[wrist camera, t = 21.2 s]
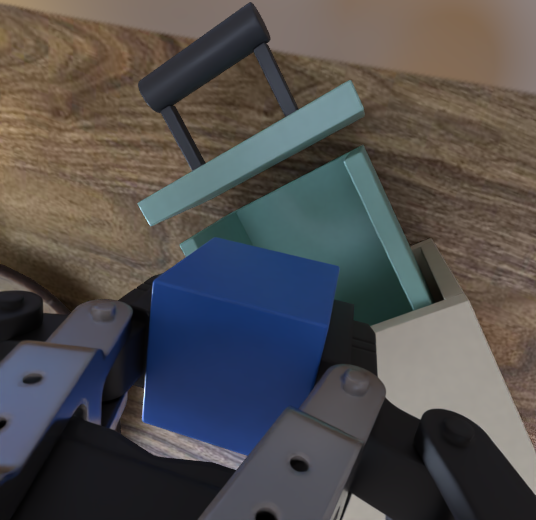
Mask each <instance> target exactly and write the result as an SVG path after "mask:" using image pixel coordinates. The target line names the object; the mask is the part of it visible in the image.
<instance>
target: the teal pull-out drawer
mask: <svg viewBox="0 0 536 520" xmlns="http://www.w3.org/2000/svg"><path fill="white" fill-rule="evenodd" d="M269 41H270V35H269V32H268V30H267V28H266V26H265V23H264V22H263V19H262V18H261V16H260V14H259V12H258V10H257V9H256V7H255V6H254V4H252V3H251V2H250V3H248V4H246V5H245V6H244V7H242V8H241V9H240V10H238V11H237V12H235V13H234V14H232V15H231V16H230V17H228V18H227V19H225V20H224V21H223V22H221V23H220V24H219V25H217V26H216V27H214V28H213V29H211V30H210V31H209V32H207V33H206V34H204V35H203V36H202V37H200V38H199V39H197V40H196V41H195V42H193V43H192V44H190V45H189V46H188V47H186V48H185V49H183V50H182V51H181V52H179V53H178V54H176V55H175V56H174V57H172V58H171V59H169V60H168V61H167V62H165V63H164V64H162V65H161V66H160V67H158V68H157V69H155V70H154V71H153V72H151V73H150V74H148V75H147V76H146V77H144V78H143V79H141V80H140V81H139V83H138V87H139V91H140V93H141V95H142V97H143V99H144V100H145V102H146V103H147V104H148V105H149V106H150V107H151V108H152V109H153V110H154V111H155V112H158V113H161V114H162V116H163V118H164V120H165V122H166V123H167V125H168V127H169V129H170V131H171V133H172V134H173V136H174V138H175V140H176V142H177V144H178V146H179V147H180V149H181V151H182V153H183V155H184V157H185V158H186V160H187V162H188V164H189V166H190V168H191V170H192V172H190V173H188V174H187V175H185V176H183V177H181V178H180V179H178V180H176V181H174V182H173V183H171V184H169V185H168V186H166V187H164V188H162V189H161V190H159V191H157V192H156V193H154V194H152V195H150V196H149V197H147V198H145V199H143V200H142V201H140V202H138V206H139V207H140V209H141V211H142V213H143V214H144V216H145V218H146V220H147V221H148V223H149V225H150V226H153V225H155V224H158V223H160V222H162V221H164V220H166V219H169V218H171V217H173V216H175V215H178V214H180V213H182V212H184V211H186V210H189V209H191V208H193V207H195V206H198V205H200V204H202V203H204V202H207V201H209V200H211V199H213V198H215V197H217V196H218V195H220V194H222V193H224V192H226V191H228V190H230V189H231V188H233V187H235V186H237V185H239V184H241V183H243V182H244V181H246V180H248V179H250V178H252V177H254V176H256V175H257V174H259V173H261V172H263V171H265V170H267V169H268V168H270V167H272V166H274V165H276V164H278V163H280V162H281V161H283V160H285V159H287V158H289V157H291V156H293V155H294V154H296V153H298V152H300V151H302V150H304V149H305V148H307V147H309V146H311V145H313V144H315V143H317V142H318V141H320V140H322V139H324V138H326V137H328V136H330V135H331V134H333V133H335V132H337V131H339V130H341V129H342V128H344V127H346V126H348V125H350V124H352V123H354V122H355V121H357V120H359V119H361V118H363V117H364V116H365V113H364V107H363V105H362V103H361V101H360V99H359V96H358V94H357V92H356V90H355V87H354V85H353V83H352V81H351V80H348V81H347V82H345V83H343V84H342V85H340V86H338V87H336V88H335V89H333V90H331V91H330V92H328V93H326V94H324V95H323V96H321V97H319V98H317V99H316V100H314V101H312V102H311V103H309V104H307V105H305V106H304V107H302V108H300V109H298V107H297V104H296V102H295V100H294V98H293V96H292V94H291V92H290V90H289V88H288V86H287V84H286V81H285V79H284V77H283V75H282V73H281V71H280V69H279V67H278V65H277V63H276V61H275V59H274V56H273V54H272V52H271V50H270V48H269V46H268V45H267V44H266V43H268V42H269ZM253 52H254V54H255V56H256V58H257V60H258V62H259V64H260V66H261V68H262V70H263V72H264V74H265V76H266V78H267V80H268V83H269V85H270V87H271V89H272V91H273V93H274V95H275V97H276V99H277V101H278V103H279V105H280V107H281V109H282V111H283V113H284V115H285V118H283V119H281V120H280V121H278V122H276V123H274V124H273V125H271V126H269V127H268V128H266V129H264V130H262V131H261V132H259V133H257V134H255V135H254V136H252V137H250V138H249V139H247V140H245V141H243V142H242V143H240V144H238V145H237V146H235V147H233V148H231V149H230V150H228V151H226V152H224V153H223V154H221V155H219V156H218V157H216V158H214V159H212V160H211V161H209V162H207V163H205V161H204V159H203V157H202V156H201V154H200V152H199V150H198V148H197V146H196V144H195V142H194V141H193V139H192V137H191V135H190V133H189V131H188V129H187V127H186V126H185V124H184V122H183V120H182V118H181V116H180V114H179V112H178V111H177V109H176V107H175V106H173V105H174V104H176V103H177V102H179V101H180V100H182V99H183V98H185V97H186V96H188V95H189V94H191V93H192V92H194V91H195V90H197V89H198V88H200V87H201V86H203V85H204V84H206V83H207V82H209V81H210V80H212V79H213V78H215V77H216V76H218V75H219V74H221V73H222V72H224V71H225V70H227V69H228V68H230V67H231V66H233V65H235V64H236V63H238V62H239V61H241V60H242V59H244V58H245V57H247V56H248V55H250V54H251V53H253ZM214 237H217V238H221V239H226V240H230V241H234V242H238V243H243V244H247V245H251V246H255V247H260V248H264V249H268V250H272V251H277V252H281V253H285V254H289V255H294V256H298V257H302V258H306V259H311V260H315V261H319V262H323V263H328V264H332V265H336V266H339V268H340V270H339V276H338V281H337V286H336V292H335V297H334V299H335V300H339V301H343V302H347V303H351V304H354V319H353V320H355V321H359V322H363V323H367V324H369V326H372V325H375V324H378V323H381V322H383V321H386V320H389V319H392V318H395V317H397V316H400V315H403V314H406V313H409V312H412V311H414V310H417V309H420V308H423V307H426V306H429V305H431V304H434V303H435V300H434V298H433V296H432V294H431V292H430V289H429V287H428V285H427V283H426V281H425V279H424V276H423V274H422V272H421V270H420V268H419V265H418V263H417V261H416V259H415V257H414V254H413V252H412V250H411V248H410V246H409V244H408V241H407V239H406V237H405V235H404V233H403V230H402V228H401V226H400V224H399V222H398V219H397V217H396V215H395V213H394V211H393V209H392V206H391V204H390V202H389V200H388V198H387V195H386V193H385V191H384V189H383V187H382V184H381V182H380V180H379V178H378V176H377V174H376V171H375V169H374V167H373V165H372V163H371V160H370V158H369V156H368V154H367V152H366V149H365V147H364V145H361V146H359V147H357V148H355V149H353V150H352V151H350V152H348V153H346V154H344V155H342V156H340V157H338V158H336V159H334V160H332V161H330V162H328V163H326V164H324V165H322V166H321V167H319V168H317V169H315V170H313V171H311V172H309V173H307V174H305V175H303V176H301V177H299V178H297V179H295V180H293V181H292V182H290V183H288V184H286V185H284V186H282V187H280V188H278V189H276V190H274V191H272V192H270V193H268V194H266V195H264V196H262V197H261V198H259V199H257V200H255V201H253V202H251V203H249V204H247V205H245V206H243V207H241V208H239V209H237V210H235V211H233V212H231V213H230V214H228V215H226V216H225V217H223V218H221V219H220V220H218V221H216V222H215V223H213V224H212V225H210V226H208V227H207V228H205V229H203V230H202V231H200V232H198V233H197V234H195V235H194V236H192V237H190V238H189V239H187V240H185V241H184V242H182V243H181V244H180V247H181V249H182V251H183V253H184V254H185V256H186V257H187V256H188V255H190V254H191V253H193V252H194V251H195V250H197V249H198V248H200V247H201V246H203V245H204V244H205V243H207V242H208V241H210V240H211V239H212V238H214Z"/></svg>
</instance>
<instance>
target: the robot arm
mask: <svg viewBox="0 0 536 520" xmlns="http://www.w3.org/2000/svg"><path fill="white" fill-rule="evenodd" d="M162 274H163V273H162ZM160 275H161V274H159V275H155V276H153V277H151V278H150V279H148V280H147V281H145V282H144V284H143V283H142V284H141V285H139V286H138V287H137V289H134V290H132V291H131V292H129V293H128V294H126V295H125V296H123V297H122V298H121V299H119V300H118V301H117V300H111V299H98V300H91V301H87V302H84V303H82V304H80V305H78V306H77V307H76V308H75V309H74V310H73V311H72V312H71V313H70V315H63V314H52V313H43V299H42V297H41V296H39V295H38V294H36V293H33V292H29V291H22V290H10V291H1V292H0V520H343V518H344V516H345V513H346V510H347V508H348V505H349V503H350V500H351V498H352V495H355V496H357V497H358V498H360V499H361V500H363V501H364V502H366V503H368V504H369V505H371V506H372V507H374V508H375V509H377V510H379V511H380V512H382V513H383V514H385V515H386V516H385V520H536V495H535V494H534V492H533V491H532V490H531V489H530V487H529V486H528V485H527V484H526V482H525V481H524V480H523V479H522V477H521V476H520V475H519V474H518V472H517V471H516V470H515V469H514V467H513V466H512V465H511V464H510V462H509V461H508V460H507V458H506V457H505V456H504V455H503V453H502V452H501V451H500V450H499V448H498V447H497V446H496V445H495V443H494V442H493V441H492V440H491V438H490V437H489V436H488V435H487V433H486V432H485V431H484V430H483V429H482V428H481V427H480V426H478V425H477V424H476V423H474V422H473V421H471V420H470V419H468V418H467V417H465V416H463V415H461V414H458V413H456V412H453V411H450V410H446V409H430V410H427V411H426V412H424V413H423V415H422V417H421V420H420V419H418V418H416V417H414V416H412V415H410V414H408V413H406V412H405V411H403V410H401V409H399V408H398V407H396V406H395V405H393V404H392V403H391V402H390V401H389V400H388V399H387V398H386V397H385V396H386V388H385V386H384V384H383V382H382V381H381V380H380V379H379V378H378V371H377V353H376V351H377V350H376V334H375V332H374V331H373V330H372V328H371V327H370V326H369V324H367V323H363V322H359V321H355V320H353V319H354V304H351V303H347V302H343V301H339V300H335V299H334V302H333V308H332V313H331V318H330V324H329V329H328V333H327V337H326V341H325V345H324V349H323V353H322V357H321V361H320V365H319V369H318V373H317V377H316V381H315V385H314V388H313V390H312V391H311V392H310V394H309V395H308V396H307V398H306V399H305V400H304V402H303V403H302V405H301V406H300V407H299V409H298V408H296V407H294V406H292V405H289V406H288V407H286V409H285V410H284V411H283V412H282V413H281V415H280V416H279V417H278V418H277V420H276V421H275V422H274V423H273V425H272V426H271V427H270V429H269V430H268V431H267V432H266V434H265V435H264V436H263V437H262V439H261V440H260V441H259V442H258V444H257V445H256V446H255V447H254V449H253V450H252V451H251V453H250V454H249V455H248V456H247V458H246V459H245V460H244V461H243V463H242V464H241V465H240V466H239V468H238V469H237V470H234V469H231V468H228V467H225V466H222V465H219V464H216V463H213V462H203V461H193V460H183V459H174V458H164V457H157V456H154V455H152V454H151V453H149V452H147V451H146V450H144V449H143V448H141V447H140V446H138V445H137V444H135V443H133V442H132V441H130V440H129V439H127V438H126V437H124V436H123V435H121V434H120V433H118V432H116V431H115V429H116V426H117V424H118V422H119V420H120V417H121V415H122V413H123V410H124V408H125V406H126V403H127V396H128V390H129V389H130V388H131V386H132V385H135V386H138V387H141V388H144V387H145V374H146V361H147V348H148V335H149V322H150V309H151V296H152V283H153V281H154V279H156V278H157V277H159V276H160Z"/></svg>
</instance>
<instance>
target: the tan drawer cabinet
mask: <svg viewBox="0 0 536 520" xmlns="http://www.w3.org/2000/svg"><path fill="white" fill-rule="evenodd" d="M410 248H411V250H412V252H413V254H414V257H415V259H416V261H417V263H418V265H419V268H420V270H421V272H422V274H423V276H424V279H425V281H426V283H427V285H428V287H429V289H430V292H431V294H432V296H433V298H434V300H435V303H434V304H431V305H429V306H426V307H423V308H420V309H417V310H414V311H412V312H409V313H406V314H403V315H400V316H397V317H395V318H392V319H389V320H386V321H383V322H381V323H378V324H375V325H372V326H370V327H371V328H372V330H373V331H374V332H375V334H376V350H377V351H376V353H377V371H378V378H379V379H380V380H381V381H382V382H383V384H384V386H385V388H386V396H385V397H386V398H387V399H388V400H389V401H390V402H391V403H392V404H393V405H395V406H396V407H398V408H399V409H401V410H403V411H405V412H406V413H408V414H410V415H412V416H414V417H416V418H418V419H420V420H421V417H422V415H423V413H424V412H426V411H427V410H430V409H446V410H450V411H453V412H456V413H458V414H461V415H463V416H465V417H467V418H468V419H470V420H471V421H473V422H474V423H476V424H477V425H478V426H480V427H481V428H482V429H483V430H484V431H485V432H486V433H487V435H488V436H489V437H490V438H491V440H492V441H493V442H494V443H495V445H496V446H497V447H498V448H499V450H500V451H501V452H502V453H503V455H504V456H505V457H506V458H507V460H508V461H509V462H510V464H511V465H512V466H513V467H514V469H515V470H516V471H517V472H518V474H519V475H520V476H521V477H522V479H523V480H524V481H525V482H526V484H527V485H528V486H529V487H530V489H531V490H532V491H533V492H534V494H535V495H536V451H535V449H534V447H533V444H532V442H531V440H530V438H529V435H528V433H527V431H526V428H525V426H524V424H523V422H522V419H521V417H520V415H519V413H518V410H517V408H516V406H515V403H514V401H513V399H512V397H511V394H510V392H509V390H508V388H507V385H506V383H505V381H504V378H503V376H502V374H501V372H500V369H499V367H498V365H497V363H496V360H495V358H494V356H493V353H492V351H491V349H490V347H489V344H488V342H487V340H486V338H485V335H484V333H483V331H482V328H481V326H480V324H479V322H478V319H477V317H476V315H475V313H474V310H473V308H472V306H471V303H470V301H469V299H468V298H467V296H466V294H465V293H464V291H463V290H462V288H461V286H460V285H459V283H458V281H457V280H456V278H455V276H454V275H453V273H452V271H451V270H450V268H449V266H448V264H447V263H446V261H445V259H444V258H443V256H442V254H441V253H440V251H439V249H438V248H437V246H436V244H435V243H434V241H433V239H432V238H429V239H427V240H424V241H422V242H420V243H417V244H415V245H412V246H410ZM385 516H386V515H385V514H383V513H382V512H380V511H379V510H377V509H375V508H374V507H372V506H371V505H369V504H368V503H366V502H364V501H363V500H361V499H360V498H358V497H357V496H355V495H352V498H351V500H350V503H349V505H348V508H347V510H346V513H345V516H344V518H343V520H385Z"/></svg>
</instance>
